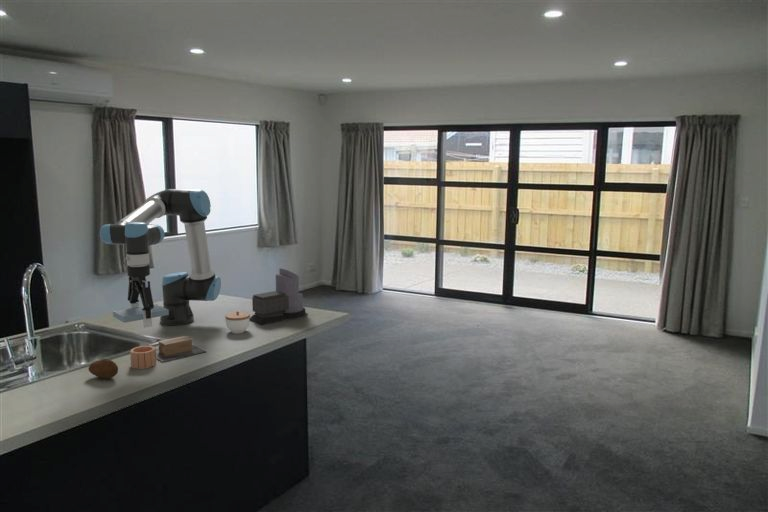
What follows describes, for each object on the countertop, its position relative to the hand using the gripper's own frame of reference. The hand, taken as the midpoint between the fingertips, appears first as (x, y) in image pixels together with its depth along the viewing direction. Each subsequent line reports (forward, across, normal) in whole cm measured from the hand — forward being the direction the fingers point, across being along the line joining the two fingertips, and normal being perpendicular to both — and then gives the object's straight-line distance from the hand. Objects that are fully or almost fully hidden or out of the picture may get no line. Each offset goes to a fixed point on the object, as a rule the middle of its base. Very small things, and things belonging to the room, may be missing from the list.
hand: (141, 323), depth 210 cm
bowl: (+16, 0, 0) cm, 16 cm away
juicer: (+16, -23, +76) cm, 81 cm away
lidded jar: (+16, -15, +48) cm, 53 cm away
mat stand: (+16, -6, +15) cm, 23 cm away
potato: (+16, +4, -15) cm, 22 cm away
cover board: (-3, 0, 0) cm, 3 cm away
